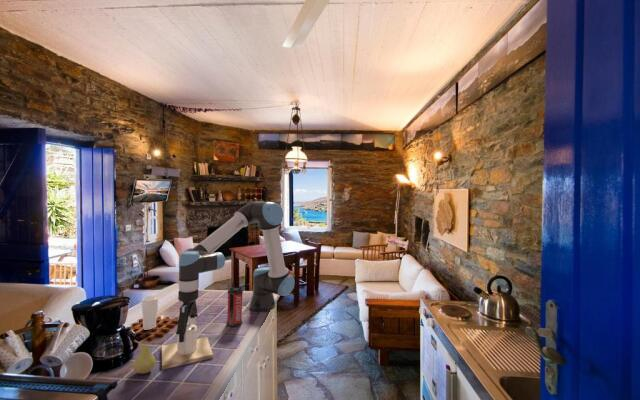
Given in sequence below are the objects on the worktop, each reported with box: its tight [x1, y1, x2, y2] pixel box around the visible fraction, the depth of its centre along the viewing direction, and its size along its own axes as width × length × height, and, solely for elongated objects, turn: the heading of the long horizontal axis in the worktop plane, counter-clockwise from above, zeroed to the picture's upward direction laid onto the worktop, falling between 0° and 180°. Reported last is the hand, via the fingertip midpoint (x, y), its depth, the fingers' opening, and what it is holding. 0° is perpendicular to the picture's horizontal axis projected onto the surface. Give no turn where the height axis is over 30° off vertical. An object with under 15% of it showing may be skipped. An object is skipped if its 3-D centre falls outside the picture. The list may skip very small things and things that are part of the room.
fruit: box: [132, 339, 156, 375], centre depth 106 cm, size 7×8×12 cm
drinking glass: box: [141, 295, 159, 331], centre depth 140 cm, size 7×7×15 cm
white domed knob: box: [176, 323, 198, 355], centre depth 120 cm, size 7×7×10 cm
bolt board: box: [161, 336, 214, 371], centre depth 120 cm, size 18×16×8 cm
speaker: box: [226, 286, 244, 327], centre depth 149 cm, size 8×8×18 cm
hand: (187, 340), depth 120 cm, fingers open, 13 cm apart
